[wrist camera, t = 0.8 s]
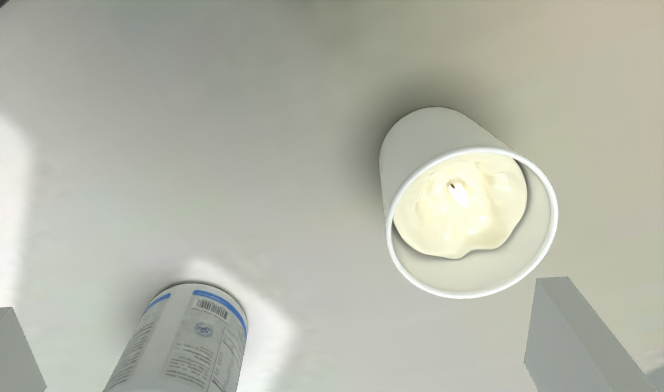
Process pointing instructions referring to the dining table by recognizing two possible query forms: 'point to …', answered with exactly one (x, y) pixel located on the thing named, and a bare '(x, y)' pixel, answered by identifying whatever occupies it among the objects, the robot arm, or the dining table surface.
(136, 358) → the supplement tub
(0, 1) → the phone
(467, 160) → the candle holder
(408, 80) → the dining table surface
